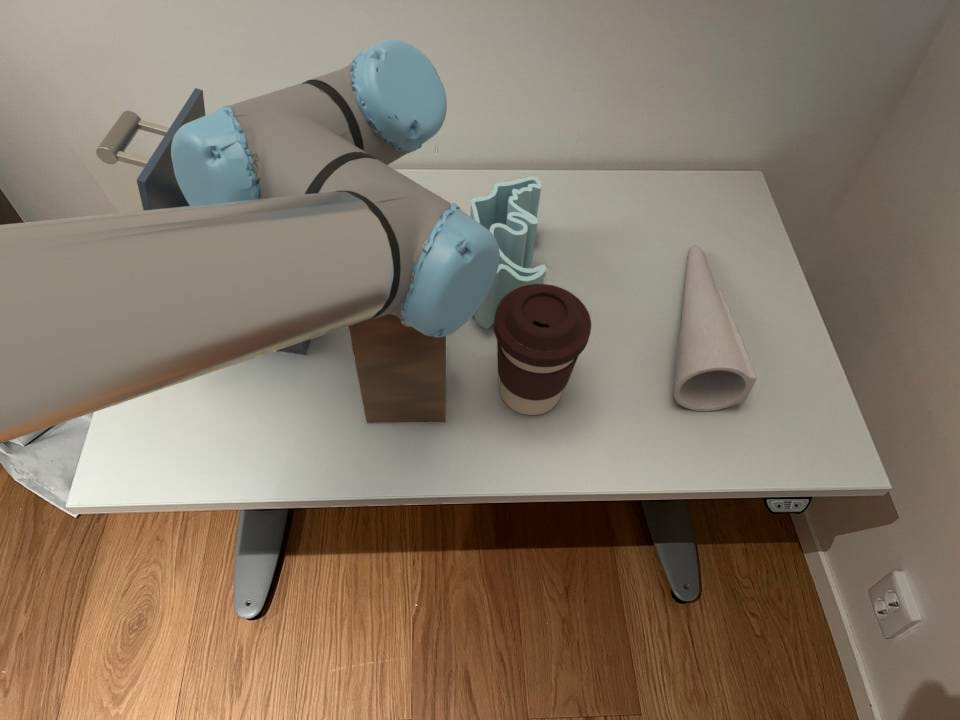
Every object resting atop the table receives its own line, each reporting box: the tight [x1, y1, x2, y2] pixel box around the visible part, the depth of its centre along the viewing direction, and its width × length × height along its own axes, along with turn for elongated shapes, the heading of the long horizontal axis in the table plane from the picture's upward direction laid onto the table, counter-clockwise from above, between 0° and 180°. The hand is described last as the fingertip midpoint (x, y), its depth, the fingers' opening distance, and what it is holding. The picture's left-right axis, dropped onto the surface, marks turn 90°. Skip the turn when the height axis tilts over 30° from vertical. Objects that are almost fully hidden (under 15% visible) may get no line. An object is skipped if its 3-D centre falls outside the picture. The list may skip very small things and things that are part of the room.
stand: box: [347, 314, 447, 424], centre depth 71 cm, size 9×9×22 cm
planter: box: [673, 244, 757, 412], centre depth 86 cm, size 8×9×26 cm
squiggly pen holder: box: [469, 175, 547, 329], centre depth 87 cm, size 18×10×9 cm, turn 6°
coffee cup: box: [493, 283, 592, 416], centre depth 74 cm, size 10×10×15 cm
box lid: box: [95, 87, 207, 211], centre depth 72 cm, size 15×15×7 cm
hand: (227, 220), depth 76 cm, fingers open, 13 cm apart
